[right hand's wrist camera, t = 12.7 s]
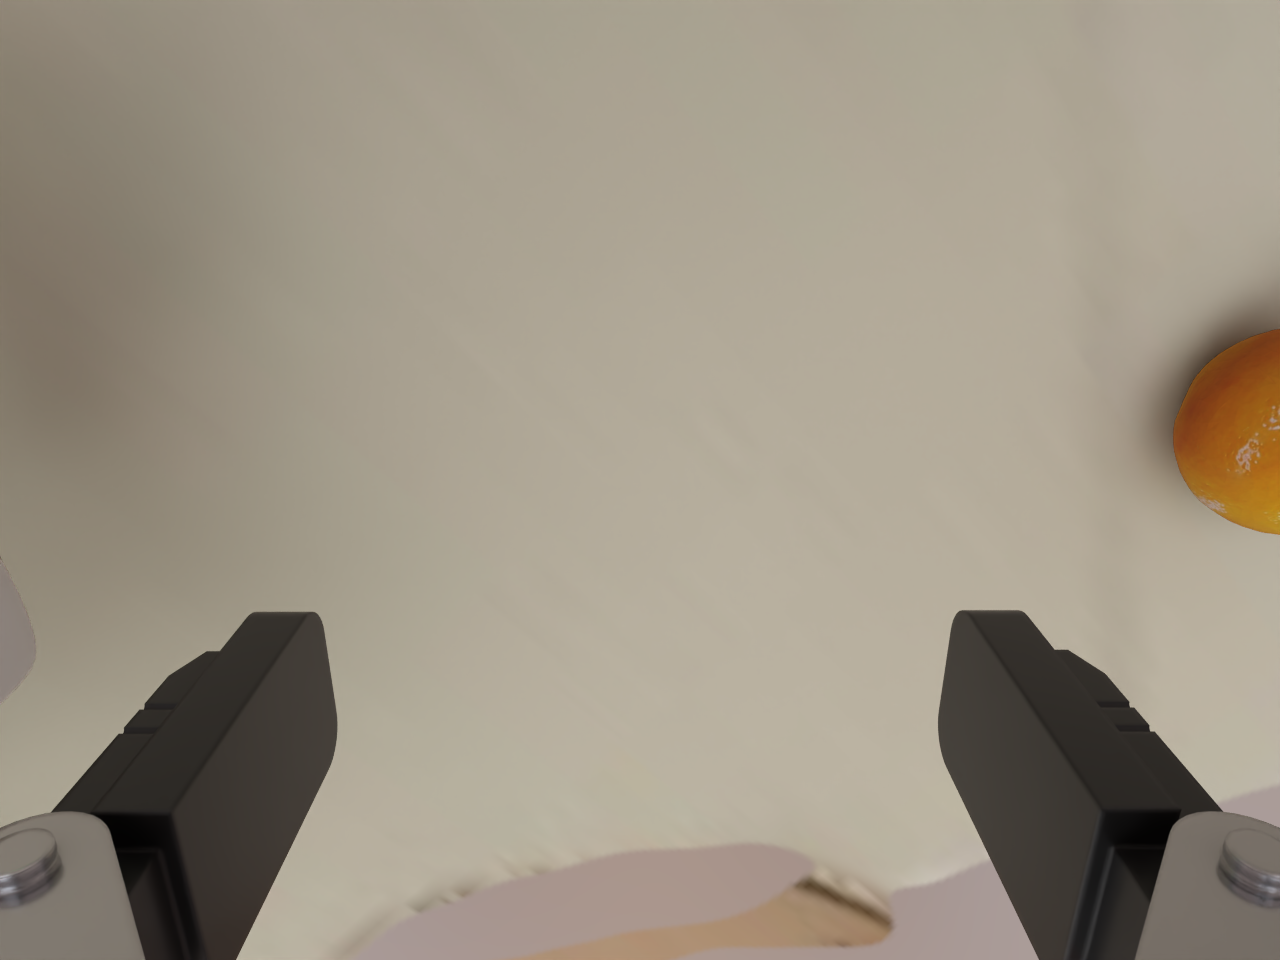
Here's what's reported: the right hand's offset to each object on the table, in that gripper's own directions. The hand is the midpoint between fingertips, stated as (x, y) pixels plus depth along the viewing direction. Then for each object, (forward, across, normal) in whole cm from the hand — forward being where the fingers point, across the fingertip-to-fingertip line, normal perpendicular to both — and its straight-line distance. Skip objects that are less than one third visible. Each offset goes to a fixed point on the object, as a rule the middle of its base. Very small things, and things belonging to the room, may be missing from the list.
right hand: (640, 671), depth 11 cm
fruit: (+29, +27, -5) cm, 40 cm away
